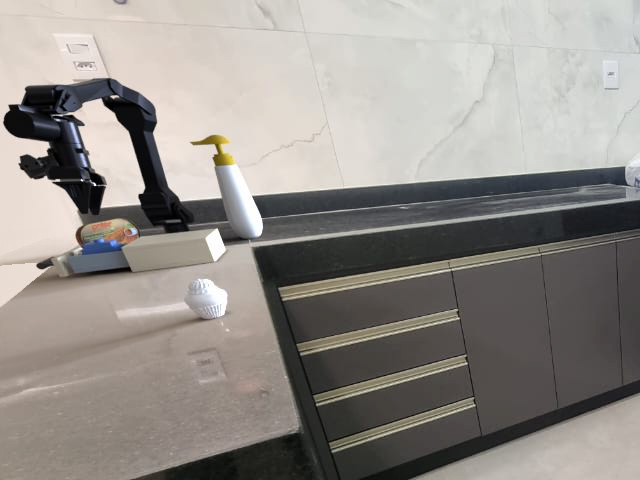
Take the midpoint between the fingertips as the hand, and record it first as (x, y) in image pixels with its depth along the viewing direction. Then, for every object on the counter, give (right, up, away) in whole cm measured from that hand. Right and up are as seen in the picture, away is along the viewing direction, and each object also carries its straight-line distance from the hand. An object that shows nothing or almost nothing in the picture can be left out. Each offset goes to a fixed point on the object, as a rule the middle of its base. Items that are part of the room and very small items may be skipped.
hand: (90, 214), depth 126 cm
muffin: (+54, -27, -30) cm, 67 cm away
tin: (-21, -3, +27) cm, 34 cm away
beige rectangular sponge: (+12, -9, +11) cm, 19 cm away
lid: (-1, -10, +5) cm, 11 cm away
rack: (-2, -12, +5) cm, 13 cm away
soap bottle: (+11, +3, +36) cm, 38 cm away
